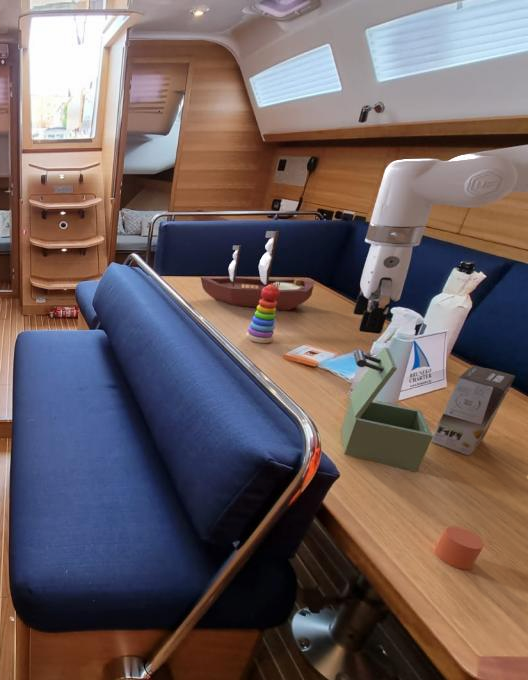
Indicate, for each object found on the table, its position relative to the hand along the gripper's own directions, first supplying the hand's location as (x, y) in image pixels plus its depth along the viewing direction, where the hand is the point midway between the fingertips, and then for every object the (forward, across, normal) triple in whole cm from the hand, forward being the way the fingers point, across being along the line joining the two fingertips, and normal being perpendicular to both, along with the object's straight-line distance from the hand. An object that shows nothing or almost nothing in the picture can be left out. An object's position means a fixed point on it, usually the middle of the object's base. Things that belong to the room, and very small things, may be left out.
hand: (366, 323), depth 81 cm
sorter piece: (+28, -26, -14) cm, 41 cm away
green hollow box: (+28, 0, -8) cm, 29 cm away
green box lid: (+13, 0, -4) cm, 13 cm away
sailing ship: (+28, +88, +23) cm, 95 cm away
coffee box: (+28, +11, -23) cm, 38 cm away
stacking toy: (+28, +51, +17) cm, 61 cm away
